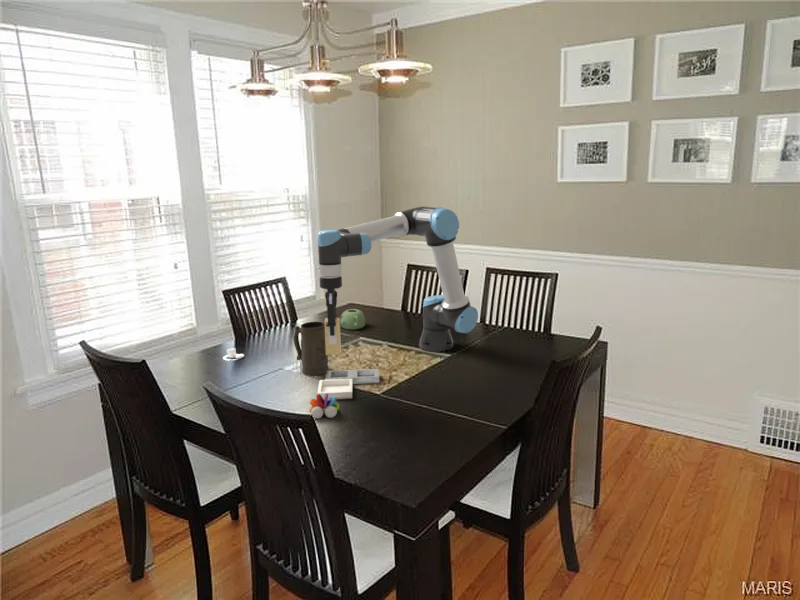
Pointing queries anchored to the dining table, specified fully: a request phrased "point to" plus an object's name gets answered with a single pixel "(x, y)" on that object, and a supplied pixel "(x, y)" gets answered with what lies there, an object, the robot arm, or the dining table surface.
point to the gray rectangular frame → (355, 375)
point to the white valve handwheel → (233, 354)
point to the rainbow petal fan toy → (324, 406)
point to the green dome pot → (352, 319)
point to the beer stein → (311, 348)
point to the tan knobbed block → (336, 348)
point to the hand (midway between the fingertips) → (333, 341)
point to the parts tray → (336, 388)
